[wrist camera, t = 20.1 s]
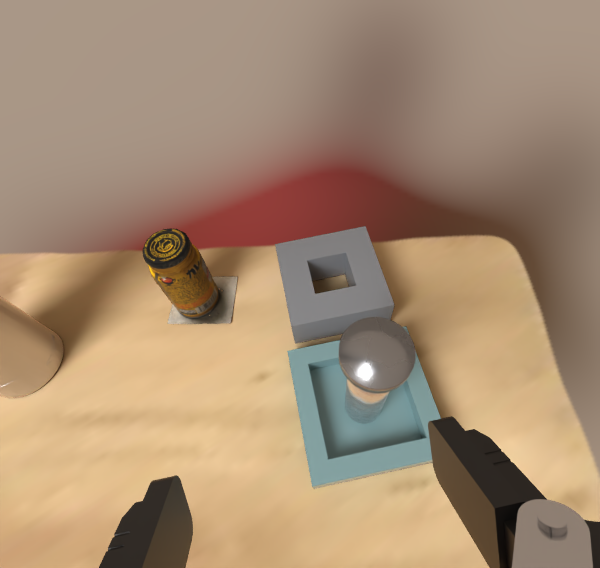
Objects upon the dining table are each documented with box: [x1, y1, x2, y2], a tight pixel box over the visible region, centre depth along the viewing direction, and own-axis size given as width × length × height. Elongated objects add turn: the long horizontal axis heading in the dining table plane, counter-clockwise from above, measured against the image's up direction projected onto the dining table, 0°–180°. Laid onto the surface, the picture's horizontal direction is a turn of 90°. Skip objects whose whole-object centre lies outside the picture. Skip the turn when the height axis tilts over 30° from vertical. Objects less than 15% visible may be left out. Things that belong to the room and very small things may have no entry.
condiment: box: [143, 229, 238, 324], centre depth 47 cm, size 7×8×12 cm
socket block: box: [275, 226, 394, 344], centre depth 49 cm, size 12×12×5 cm
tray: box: [288, 326, 441, 489], centre depth 41 cm, size 14×14×3 cm
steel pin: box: [339, 317, 416, 424], centre depth 35 cm, size 6×6×16 cm
